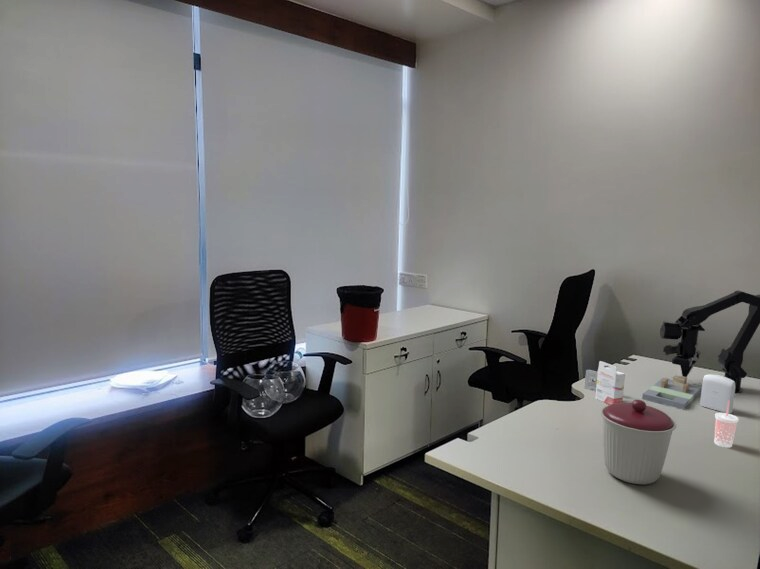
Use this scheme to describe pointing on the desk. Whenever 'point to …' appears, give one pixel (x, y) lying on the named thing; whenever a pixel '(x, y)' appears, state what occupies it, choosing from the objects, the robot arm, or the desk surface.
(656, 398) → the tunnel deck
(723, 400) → the photo printer
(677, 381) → the birch block
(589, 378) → the cassette
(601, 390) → the ink cartridge box
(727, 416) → the beverage cup
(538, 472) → the desk surface
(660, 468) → the canister
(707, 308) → the robot arm
